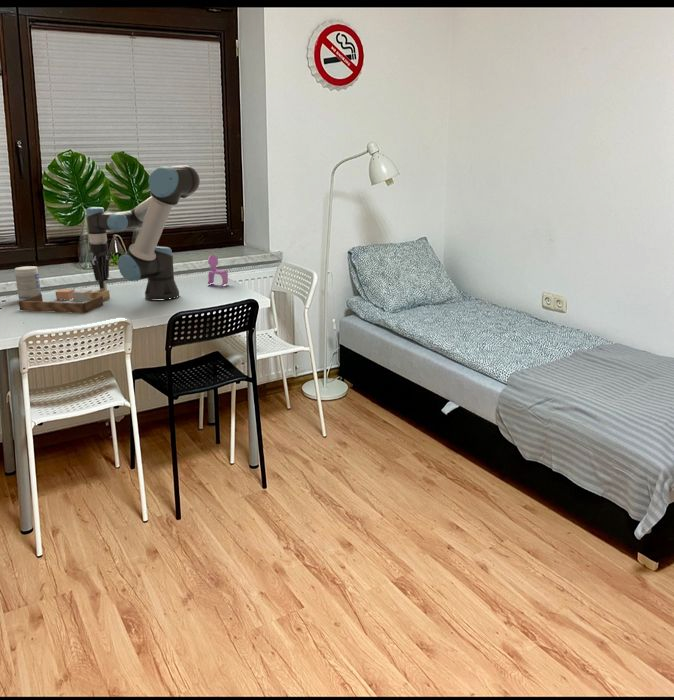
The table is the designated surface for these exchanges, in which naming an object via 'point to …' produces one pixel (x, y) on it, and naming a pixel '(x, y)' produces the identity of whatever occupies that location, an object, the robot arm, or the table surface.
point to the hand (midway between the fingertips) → (103, 295)
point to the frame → (59, 305)
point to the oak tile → (100, 294)
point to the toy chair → (213, 263)
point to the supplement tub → (27, 282)
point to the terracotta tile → (65, 294)
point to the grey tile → (81, 294)
